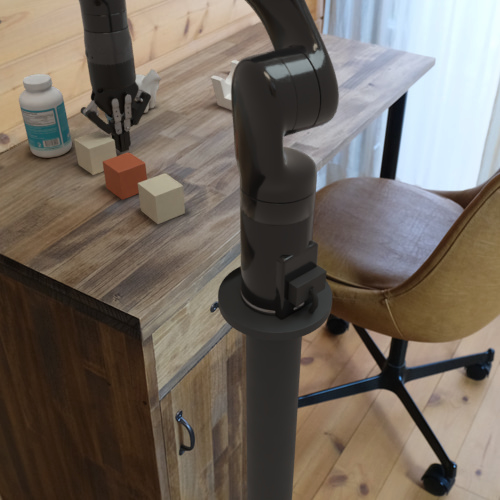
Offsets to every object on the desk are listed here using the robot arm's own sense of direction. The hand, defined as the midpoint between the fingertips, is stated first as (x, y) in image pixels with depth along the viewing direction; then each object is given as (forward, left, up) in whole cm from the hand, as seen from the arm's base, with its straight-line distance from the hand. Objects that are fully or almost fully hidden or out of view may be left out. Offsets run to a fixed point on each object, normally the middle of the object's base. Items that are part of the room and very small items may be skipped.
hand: (122, 149), depth 115 cm
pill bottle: (+11, +9, -2) cm, 14 cm away
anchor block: (-10, +6, -1) cm, 12 cm away
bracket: (+1, -30, -2) cm, 30 cm away
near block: (-20, +5, -1) cm, 21 cm away
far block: (0, +5, -1) cm, 5 cm away
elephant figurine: (+16, -12, -2) cm, 20 cm away
